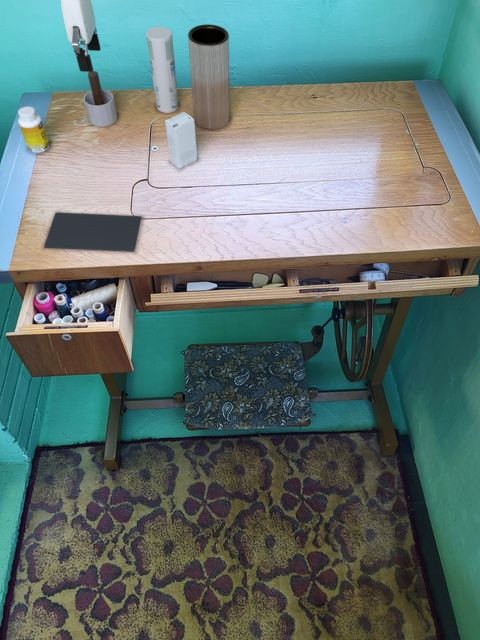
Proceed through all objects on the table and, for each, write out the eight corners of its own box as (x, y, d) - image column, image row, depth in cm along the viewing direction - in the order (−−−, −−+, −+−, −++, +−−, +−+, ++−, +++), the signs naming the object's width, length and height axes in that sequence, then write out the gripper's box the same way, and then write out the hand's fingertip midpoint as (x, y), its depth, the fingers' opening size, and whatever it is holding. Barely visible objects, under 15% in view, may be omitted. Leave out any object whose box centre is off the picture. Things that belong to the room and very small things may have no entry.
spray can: (177, 113, 147) (170, 39, 131) (154, 112, 147) (144, 38, 131) (180, 100, 151) (173, 26, 134) (157, 99, 151) (147, 25, 134)
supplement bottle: (50, 153, 136) (37, 116, 127) (27, 154, 135) (13, 118, 126) (50, 139, 139) (38, 103, 130) (28, 141, 138) (15, 105, 129)
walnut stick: (97, 119, 144) (86, 76, 134) (98, 113, 145) (88, 70, 135) (106, 119, 144) (96, 76, 134) (108, 114, 145) (98, 71, 135)
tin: (86, 125, 143) (80, 105, 138) (91, 109, 147) (86, 88, 142) (114, 127, 143) (110, 106, 138) (119, 110, 147) (115, 90, 142)
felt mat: (44, 248, 118) (43, 246, 117) (56, 214, 124) (55, 212, 123) (133, 251, 118) (133, 250, 118) (140, 217, 124) (140, 216, 124)
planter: (237, 121, 147) (237, 36, 128) (209, 134, 143) (205, 49, 124) (214, 104, 151) (211, 19, 132) (186, 117, 147) (179, 32, 128)
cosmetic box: (187, 152, 138) (183, 109, 128) (198, 160, 137) (195, 118, 126) (169, 161, 136) (163, 119, 126) (179, 170, 134) (175, 128, 124)
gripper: (64, -35, 122) (82, 41, 136) (46, 1, 113) (68, 79, 127) (96, -33, 122) (111, 43, 137) (81, 2, 113) (99, 80, 127)
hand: (90, 60), depth 132 cm, fingers open, 9 cm apart
